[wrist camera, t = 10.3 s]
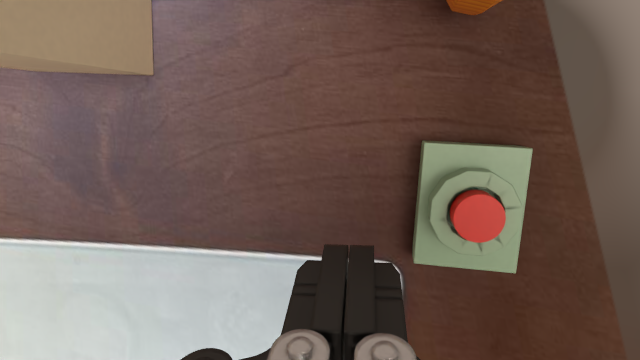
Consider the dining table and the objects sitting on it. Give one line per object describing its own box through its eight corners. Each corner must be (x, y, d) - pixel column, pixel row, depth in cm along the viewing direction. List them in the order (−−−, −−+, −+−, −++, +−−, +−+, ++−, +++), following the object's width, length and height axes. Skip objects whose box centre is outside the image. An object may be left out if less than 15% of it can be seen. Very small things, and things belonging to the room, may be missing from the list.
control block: (523, 145, 33) (541, 150, 29) (508, 263, 35) (523, 282, 31) (421, 140, 34) (426, 144, 30) (412, 254, 36) (415, 271, 32)
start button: (502, 191, 30) (509, 196, 29) (496, 237, 31) (502, 245, 29) (452, 187, 31) (455, 192, 29) (447, 233, 32) (450, 240, 30)
